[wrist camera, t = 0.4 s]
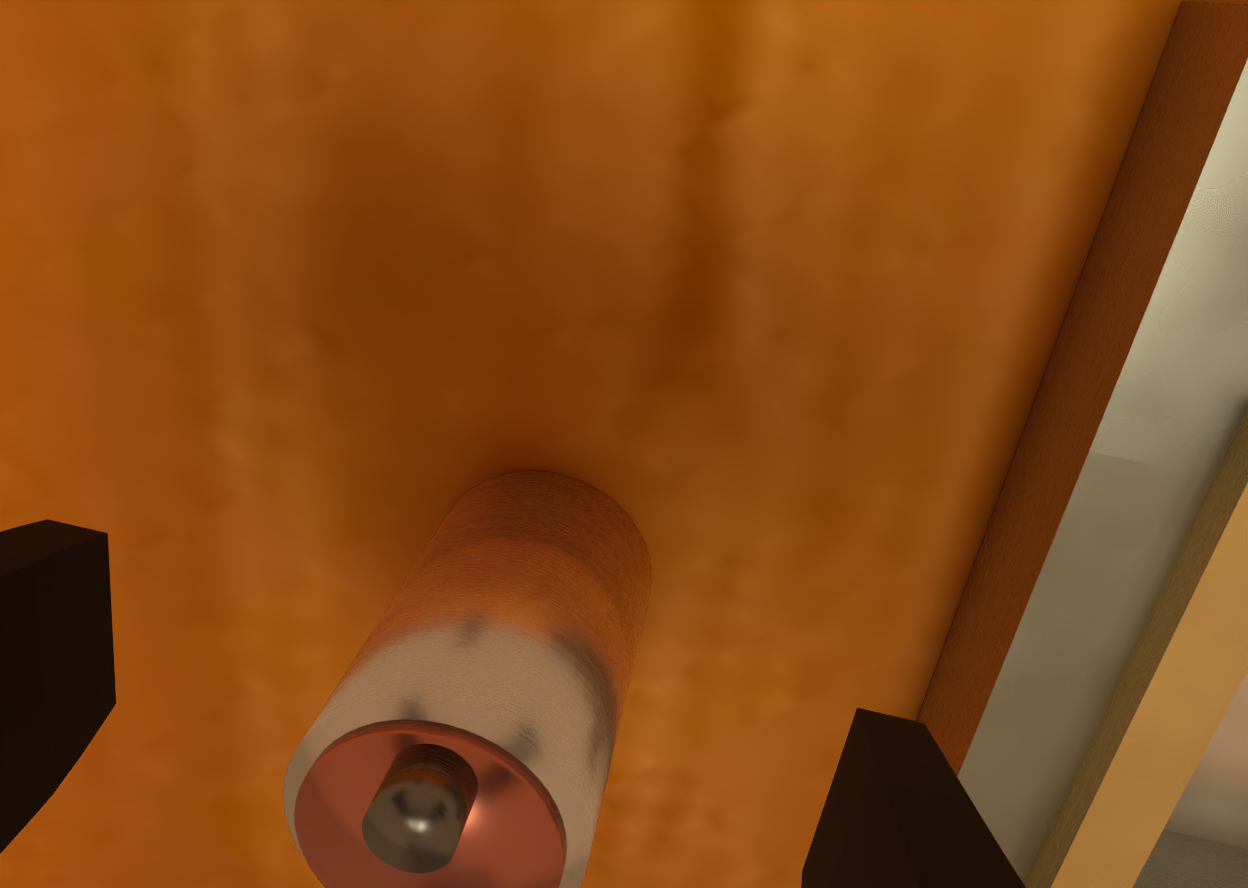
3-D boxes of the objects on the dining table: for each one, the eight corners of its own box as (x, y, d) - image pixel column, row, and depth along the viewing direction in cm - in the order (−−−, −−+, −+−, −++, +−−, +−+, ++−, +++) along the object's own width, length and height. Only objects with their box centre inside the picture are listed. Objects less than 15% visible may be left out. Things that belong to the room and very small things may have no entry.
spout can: (631, 680, 21) (545, 1055, 14) (428, 633, 22) (238, 977, 14) (669, 498, 20) (595, 819, 12) (447, 449, 20) (238, 733, 12)
